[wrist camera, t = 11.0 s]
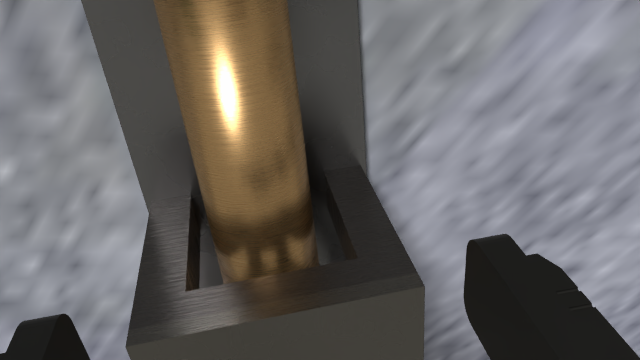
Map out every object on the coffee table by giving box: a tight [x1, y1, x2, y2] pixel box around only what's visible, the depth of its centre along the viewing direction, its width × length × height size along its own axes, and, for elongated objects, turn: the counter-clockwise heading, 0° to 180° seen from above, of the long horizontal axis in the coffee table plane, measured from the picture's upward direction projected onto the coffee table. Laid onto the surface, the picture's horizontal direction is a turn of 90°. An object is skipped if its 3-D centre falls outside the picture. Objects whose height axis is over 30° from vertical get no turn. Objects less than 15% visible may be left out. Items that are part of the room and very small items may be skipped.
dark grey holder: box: [81, 0, 425, 360], centre depth 20 cm, size 34×12×10 cm, turn 6°
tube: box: [153, 0, 320, 284], centre depth 25 cm, size 22×5×5 cm, turn 6°
